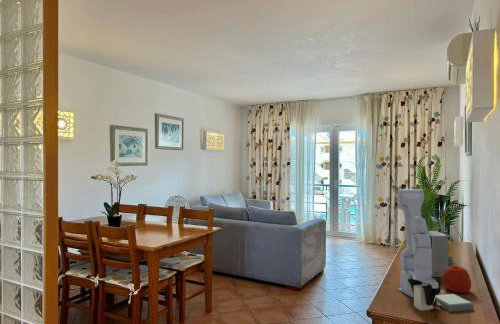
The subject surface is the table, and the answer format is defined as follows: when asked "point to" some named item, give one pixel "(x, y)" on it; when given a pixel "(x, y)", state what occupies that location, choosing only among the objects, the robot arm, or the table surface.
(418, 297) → the carton
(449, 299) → the tray
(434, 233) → the hard drive box
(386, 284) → the table surface
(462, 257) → the table surface
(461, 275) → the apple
